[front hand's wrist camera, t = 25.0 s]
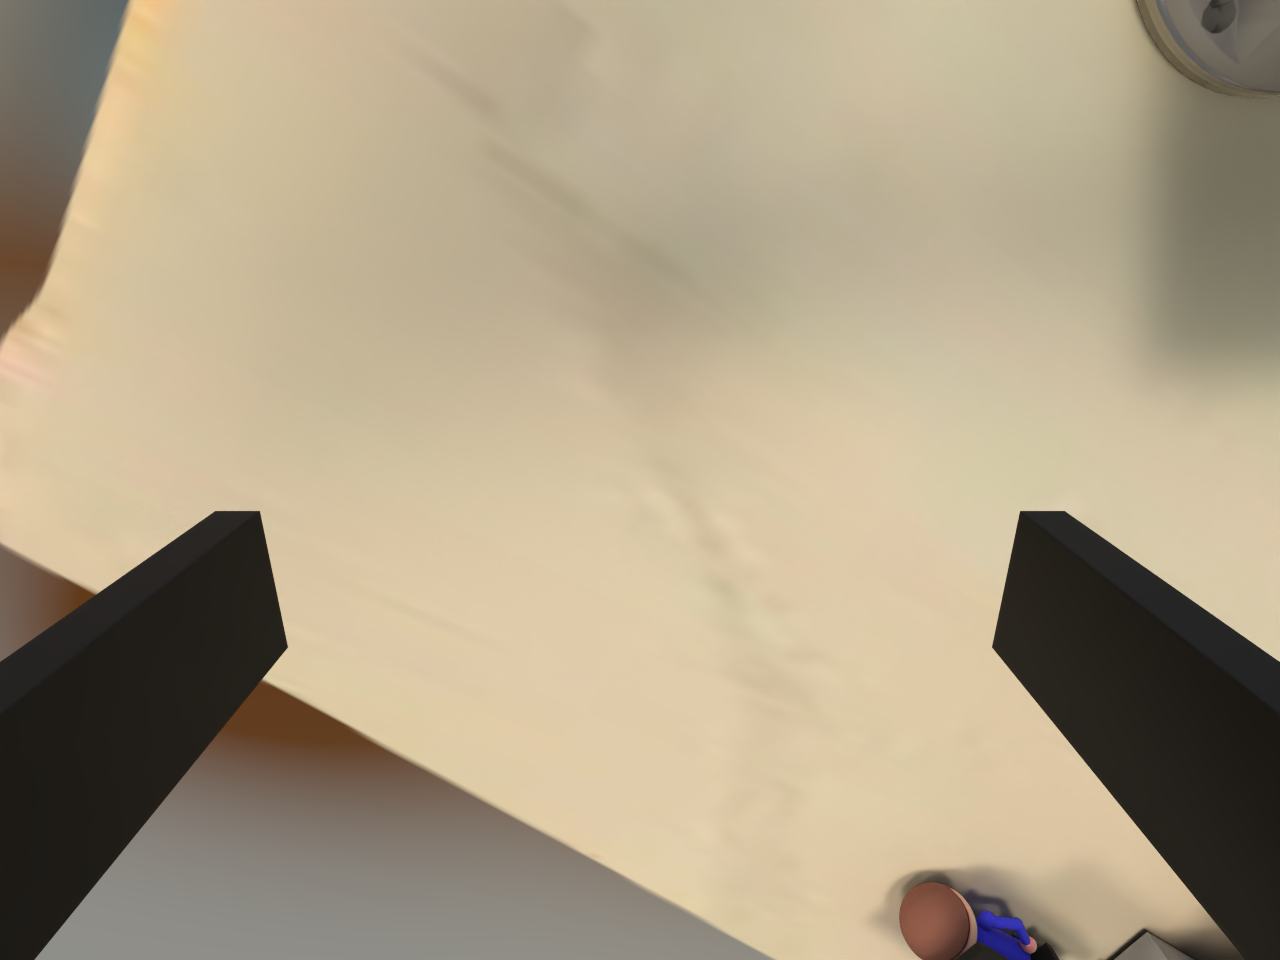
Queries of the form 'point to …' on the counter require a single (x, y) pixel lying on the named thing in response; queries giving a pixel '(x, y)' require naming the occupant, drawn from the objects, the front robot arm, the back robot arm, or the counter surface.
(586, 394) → the counter surface
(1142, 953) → the record crate
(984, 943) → the figurine character
